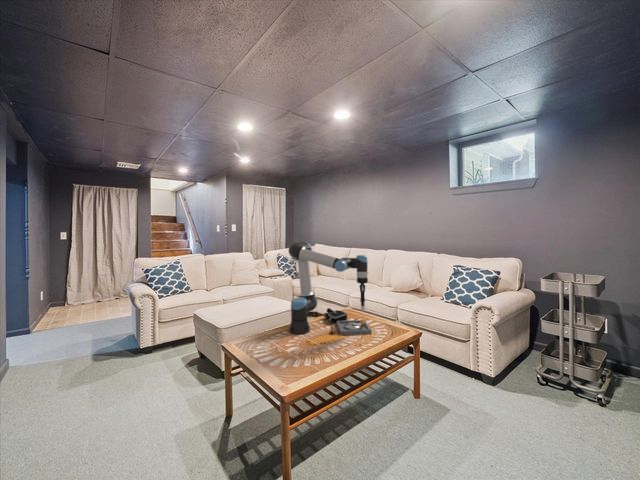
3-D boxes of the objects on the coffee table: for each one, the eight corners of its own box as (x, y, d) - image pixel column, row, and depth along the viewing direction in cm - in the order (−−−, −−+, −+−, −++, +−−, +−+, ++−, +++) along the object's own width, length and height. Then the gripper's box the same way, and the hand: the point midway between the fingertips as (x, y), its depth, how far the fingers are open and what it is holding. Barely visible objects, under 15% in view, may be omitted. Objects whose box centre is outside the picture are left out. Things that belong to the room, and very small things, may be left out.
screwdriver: (332, 334, 206) (332, 331, 206) (330, 326, 222) (330, 323, 222) (336, 334, 207) (336, 330, 206) (334, 326, 222) (334, 323, 222)
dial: (345, 330, 210) (345, 321, 210) (343, 324, 223) (343, 316, 223) (364, 329, 211) (364, 321, 210) (361, 323, 224) (361, 315, 223)
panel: (340, 334, 205) (340, 331, 205) (336, 324, 227) (336, 320, 227) (371, 333, 207) (371, 330, 206) (364, 323, 228) (364, 320, 228)
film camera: (320, 320, 239) (333, 315, 249) (334, 327, 227) (347, 322, 236) (320, 310, 238) (334, 306, 247) (334, 316, 225) (347, 312, 235)
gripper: (368, 278, 199) (368, 312, 200) (367, 275, 212) (367, 307, 213) (356, 278, 200) (357, 312, 201) (356, 275, 213) (357, 307, 214)
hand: (362, 310), depth 207 cm, fingers closed
